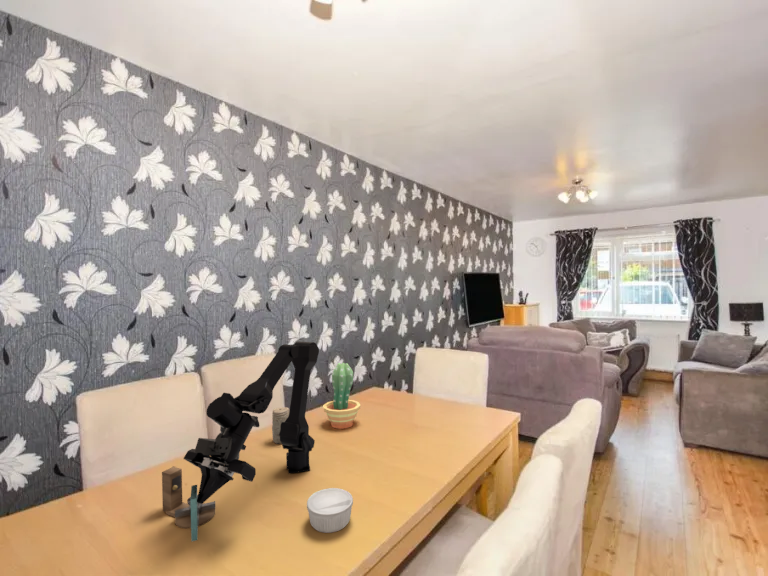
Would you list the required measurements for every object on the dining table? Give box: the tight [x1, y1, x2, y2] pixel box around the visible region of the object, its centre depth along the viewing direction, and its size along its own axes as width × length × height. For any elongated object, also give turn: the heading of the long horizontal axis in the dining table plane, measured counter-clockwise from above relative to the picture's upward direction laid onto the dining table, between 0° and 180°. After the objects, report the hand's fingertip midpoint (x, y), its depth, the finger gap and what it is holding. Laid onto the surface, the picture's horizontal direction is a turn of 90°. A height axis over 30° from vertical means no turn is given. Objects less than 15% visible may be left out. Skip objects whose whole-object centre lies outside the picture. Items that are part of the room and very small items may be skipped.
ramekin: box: [306, 487, 354, 534], centre depth 93 cm, size 11×11×5 cm
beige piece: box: [271, 406, 290, 445], centre depth 141 cm, size 6×8×12 cm
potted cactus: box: [322, 362, 361, 430], centre depth 157 cm, size 15×15×25 cm
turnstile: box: [174, 484, 216, 543], centre depth 92 cm, size 9×16×9 cm, turn 25°
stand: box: [161, 466, 216, 529], centre depth 97 cm, size 9×15×10 cm, turn 65°
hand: (199, 502), depth 88 cm, fingers closed
